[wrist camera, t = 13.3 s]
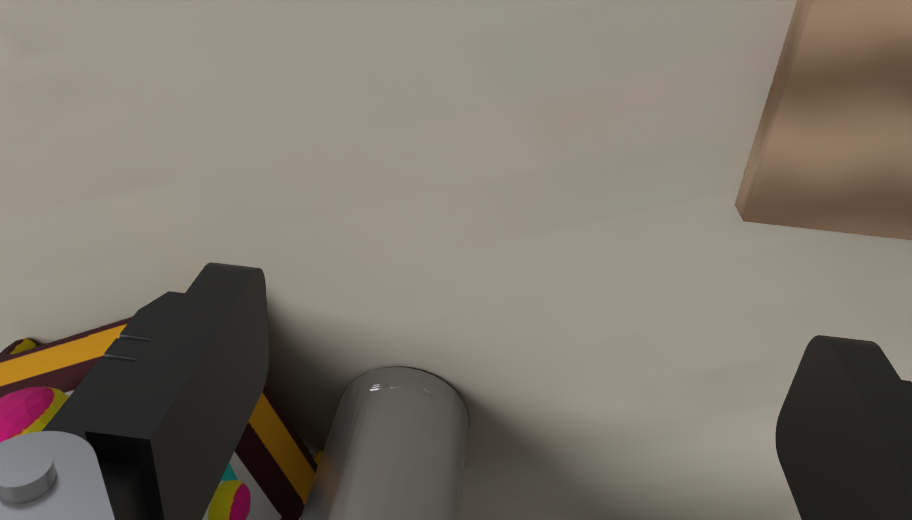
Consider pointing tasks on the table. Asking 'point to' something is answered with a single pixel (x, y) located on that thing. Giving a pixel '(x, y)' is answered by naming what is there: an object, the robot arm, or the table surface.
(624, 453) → the table surface
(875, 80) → the walnut shelf
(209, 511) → the decorative lantern
